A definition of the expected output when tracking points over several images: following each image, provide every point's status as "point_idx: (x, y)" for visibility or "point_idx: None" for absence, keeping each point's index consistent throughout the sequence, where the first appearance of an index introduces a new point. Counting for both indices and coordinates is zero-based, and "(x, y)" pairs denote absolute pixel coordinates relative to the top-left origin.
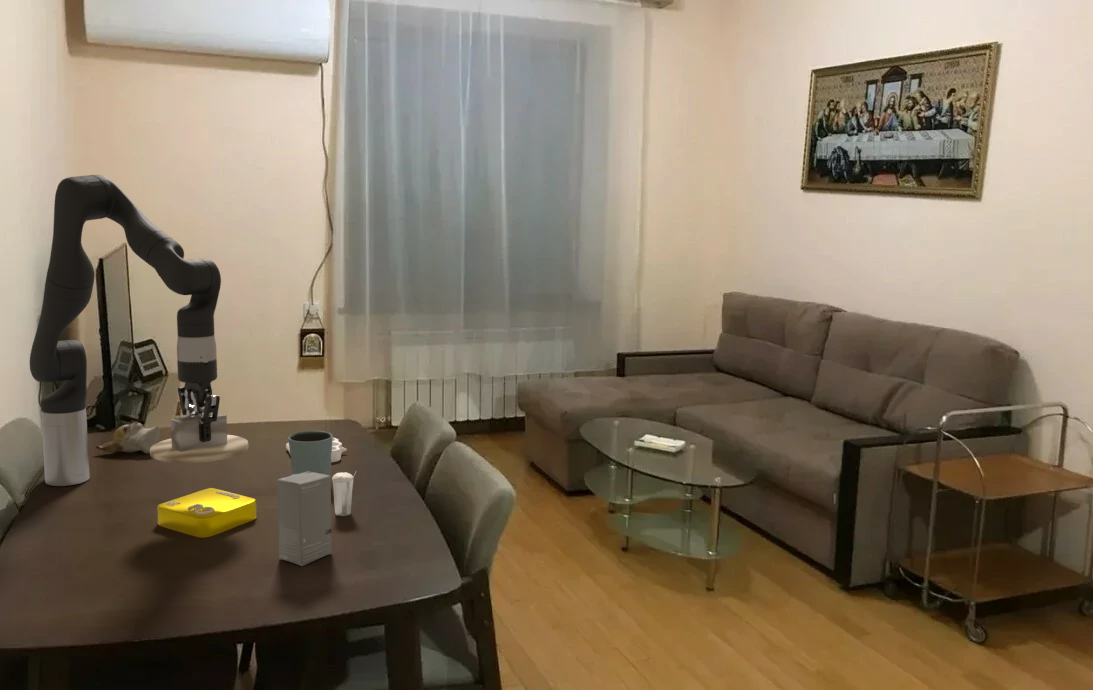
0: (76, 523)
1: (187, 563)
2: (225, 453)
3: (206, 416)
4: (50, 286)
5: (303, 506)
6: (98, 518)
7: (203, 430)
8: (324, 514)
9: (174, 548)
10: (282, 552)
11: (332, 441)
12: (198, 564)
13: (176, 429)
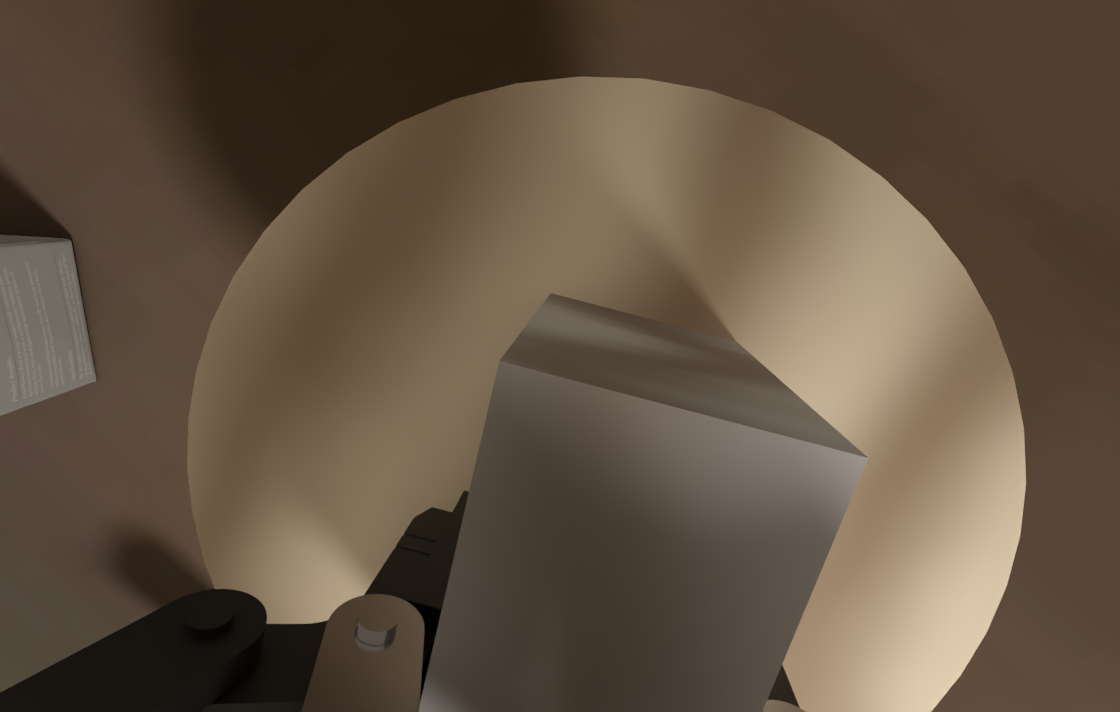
0: (1074, 28)
1: (281, 15)
2: (201, 457)
3: (58, 669)
4: None
5: None
6: (1029, 135)
7: (396, 565)
8: None
9: (448, 91)
10: (24, 237)
11: None
12: (243, 34)
13: (628, 358)
